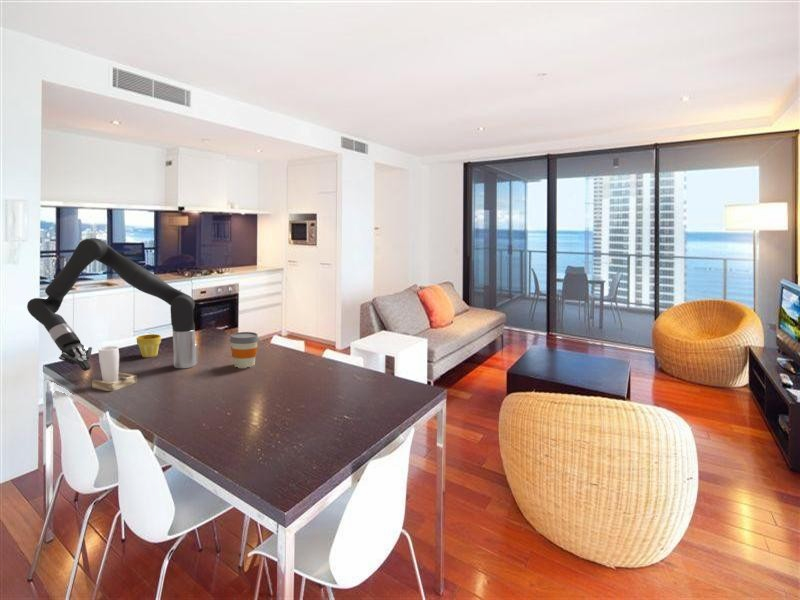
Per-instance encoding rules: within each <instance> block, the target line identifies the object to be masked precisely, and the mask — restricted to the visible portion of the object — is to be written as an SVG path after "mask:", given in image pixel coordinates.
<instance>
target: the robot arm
mask: <svg viewBox="0 0 800 600" xmlns="http://www.w3.org/2000/svg"><path fill="white" fill-rule="evenodd" d="M95 261H97V262H99V263H101V264H103V265H105V266H106V267H108V268H110V269H111V270H112V271H114V272H115V274H116V275H118V276H119V277H120V278H121V279H122V280H123V281H124V282H125V283H127V284H129V285H130V286H131V287H133V288H135V289H136V290H138V291H140V292H142V293H145V294H148V295H150V296H152V297H156V298H158V299H160V300H162V301H164V302H165V303H166V304H168V305H170V321H171V322H170V323H171V326H172V347H173V348H172V353H173V367H174V368H176V369H189V368H193V367H195V366H196V365H197V364H198V345H197V343H196V330H195V329H196V325H195V321H194V309H195V307H196V303H195V300H194V298H193V297H192V296H190V295H189V294H187V293H185V292H182V291H180V290H179V289H177V288H175V287H173V286H172V285H169V284H168V283H167V282H165V281H164V280H163V279H161V278H160V277H159V276H157V275H155V274H154V273H152V272H151V271H150V270H148V269H146V268H145V267H143V266H141V265H140V264H138V263H136V262H134V261H133V260H132V259H129V258H127V257H125V256H123V255H122V254H120V253H119V252H118V251H116V250H115V249H114V248H113V247H111V246H110V245H109V244H107V243H106V242H105V241H104V240H102V239H99V238H96V237H93V238H85V239H82V240H81V241H79V243H78V244H77V246H76V247H75V249H74V251H73V253H72V255H71V256H70V258H69V260H68V261H67V262H66V264H65V265H64V267H63V268H62V269H61V270H60V271H59V273H58V274H57V275H56V276H55V277H54V278H53V279H52V281H51V282H50V283H49V284H48V285H47V286H46V287H45V290H44V292H45V294H46V295H47V298H42V297H41V298H40V297H35V298H32V299H30V300H28V302H27V305H26V307H27V308H26V309H27V311H28V313H29V314H30V315H31V317H32V318H34V319H35V320H36V321H38V323H40V324H41V325H43V327H44V328H45V330H46V331H47V332H48V334H49V336H50V338H51V339H52V340H53V342H54V344H55V345H56V346H57V347H58V349H59V350H60V351H61V354H60V355H59V357H58V359H59V360H61V361H63V362H66V363H68V364H69V365H78V366H79V367H80V369H81V370H83V371H84V372H87V371H90V369H91V367H92V366H91V364H90V363H89V359H90V358H91V355H92V350H93V347H92V346H88V347H86V346H85V345H84V344H82V342H81V340H80V338H79V337H78V335H77V334H76V333H75V331H74V330H73V329H72V327H71V326H70V325H69V324H68V322H66V320H65V319H64V317H63V316H62V315H61V314H57V312H58V311H59V310H60V307H61V305H62V304H63V301H64V298H65V297H66V295H67V294H68V293H69V292H70V291H71V290H72V288H73V287H74V285H75V284H76V283H77V281H78V279H79V277H80V275H81V274H82V273H83V271H84V270H85V269H86V268H87V267H88V266H90V264H92V263H93V262H95Z"/></svg>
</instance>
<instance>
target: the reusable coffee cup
mask: <svg viewBox="0 0 800 600" xmlns="http://www.w3.org/2000/svg"><path fill="white" fill-rule="evenodd" d="M229 340H230V345H231V346H230V351H231V357H232V358H233V363H234V368H236V367H238V368H237V369H248V368H247V367H250V368H252V367H251V366H253V365H254V366H255V363H256V356H257V355H258V354H257V353H258V347H259V345H258V341H259V335H258V333H256V332H252V331H241V332H234V333H231V334H230V339H229ZM254 366H253V367H254Z"/></svg>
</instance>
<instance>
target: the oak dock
mask: <svg viewBox="0 0 800 600" xmlns="http://www.w3.org/2000/svg"><path fill="white" fill-rule="evenodd" d="M118 379H119V380H118V381H115V382H112V383H110V382H105V381H103V380H101V379H100V380H99V379H92V380H91V386H92V389H97V390H101V391H105V392H106V391H107V392H115V391H117V390H119V389H120V390H121V389H123V388H126V387H128V386H130V385H134V384H137V383H138V375H137V374H130V373H124V372H120V371H119V375H118Z"/></svg>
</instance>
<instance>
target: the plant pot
mask: <svg viewBox="0 0 800 600" xmlns="http://www.w3.org/2000/svg"><path fill="white" fill-rule="evenodd" d="M161 343H162V337H161V334H155V333H152V334H151V333H150V334H143V335H138V336H137V337H136V344H137V345H138V348H139V350H140V353H141V354H140V355H141V356H142V357H143V358H153V357H157V356H158V353H159V348H160V344H161Z"/></svg>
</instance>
